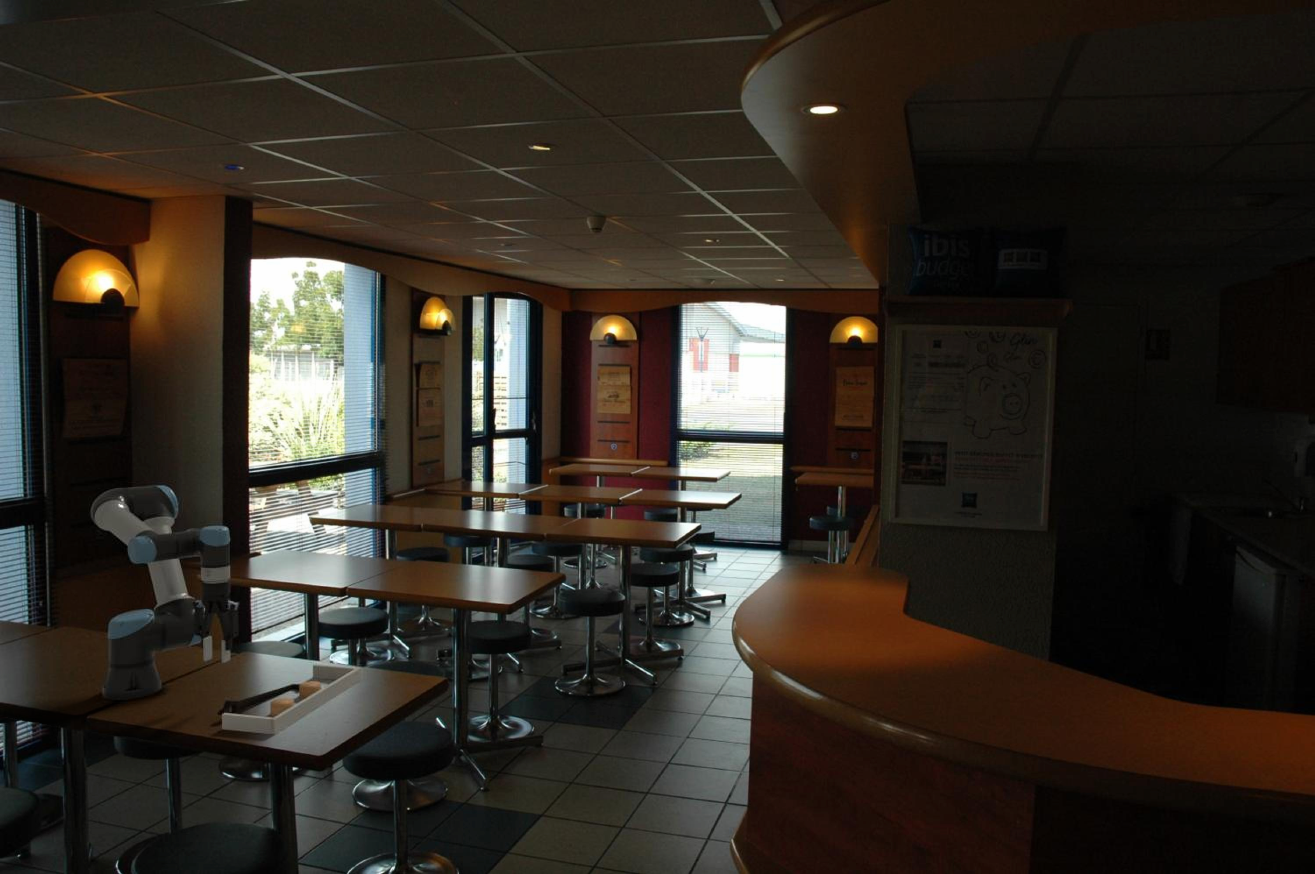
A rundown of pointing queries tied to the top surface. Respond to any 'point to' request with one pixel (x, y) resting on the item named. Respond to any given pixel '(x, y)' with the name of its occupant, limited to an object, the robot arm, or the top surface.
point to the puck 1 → (280, 706)
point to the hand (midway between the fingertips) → (217, 660)
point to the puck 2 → (308, 689)
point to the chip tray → (274, 725)
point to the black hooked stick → (254, 700)
